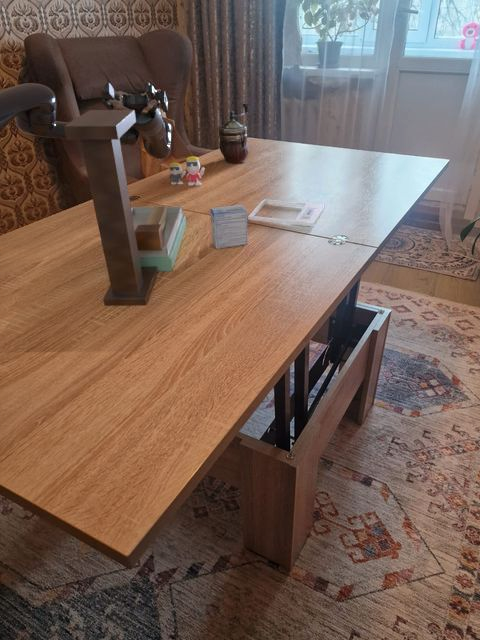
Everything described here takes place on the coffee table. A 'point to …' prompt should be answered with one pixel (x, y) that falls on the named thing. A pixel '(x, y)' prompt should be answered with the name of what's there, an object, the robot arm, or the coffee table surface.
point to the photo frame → (304, 218)
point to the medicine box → (229, 226)
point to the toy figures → (191, 167)
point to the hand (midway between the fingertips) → (127, 87)
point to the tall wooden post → (113, 203)
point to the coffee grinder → (234, 139)
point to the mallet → (152, 230)
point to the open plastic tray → (170, 237)
